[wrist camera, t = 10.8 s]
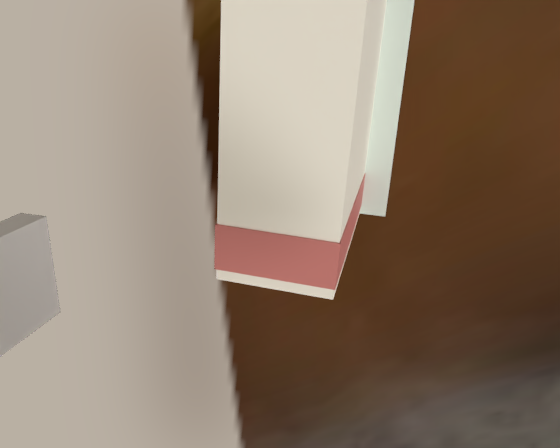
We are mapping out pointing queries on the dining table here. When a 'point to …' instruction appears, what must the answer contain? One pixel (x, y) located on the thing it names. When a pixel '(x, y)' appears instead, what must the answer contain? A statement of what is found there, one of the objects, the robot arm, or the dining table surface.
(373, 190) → the pad
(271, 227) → the pink-banded white block
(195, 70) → the dining table surface
